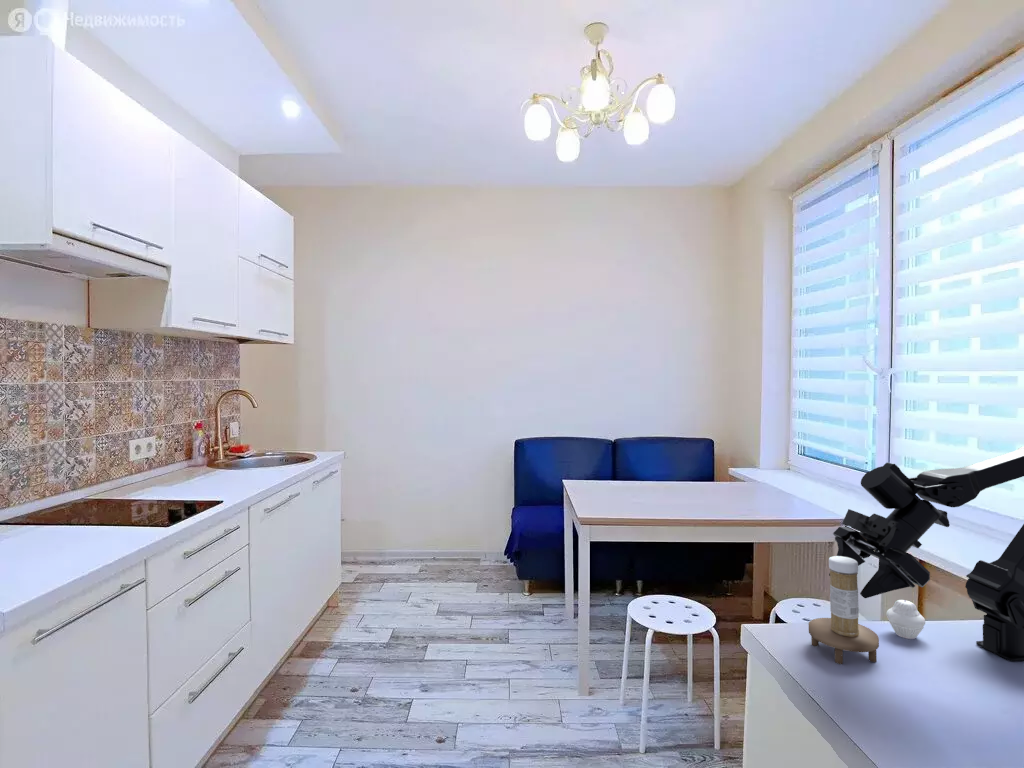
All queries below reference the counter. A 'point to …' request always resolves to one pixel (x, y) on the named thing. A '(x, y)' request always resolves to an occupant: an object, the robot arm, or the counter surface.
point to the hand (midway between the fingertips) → (846, 586)
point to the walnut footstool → (843, 639)
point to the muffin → (905, 619)
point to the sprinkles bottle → (844, 596)
